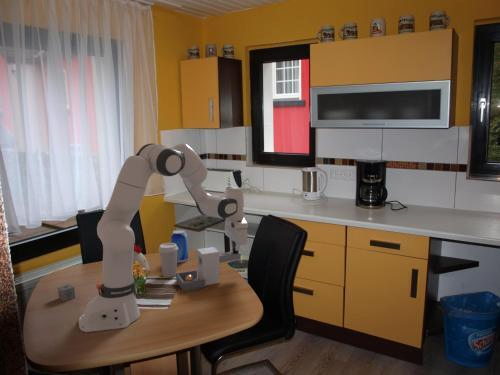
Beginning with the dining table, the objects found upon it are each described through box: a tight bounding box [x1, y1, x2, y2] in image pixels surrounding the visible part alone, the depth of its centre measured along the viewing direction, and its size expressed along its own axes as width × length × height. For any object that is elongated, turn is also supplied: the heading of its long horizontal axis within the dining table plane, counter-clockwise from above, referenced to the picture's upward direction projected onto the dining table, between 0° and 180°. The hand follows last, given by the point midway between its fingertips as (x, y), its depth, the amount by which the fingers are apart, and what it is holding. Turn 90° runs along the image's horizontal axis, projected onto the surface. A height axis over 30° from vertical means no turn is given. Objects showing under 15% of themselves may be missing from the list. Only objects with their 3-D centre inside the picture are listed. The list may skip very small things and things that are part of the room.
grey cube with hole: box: [57, 283, 76, 302], centre depth 181 cm, size 5×5×5 cm
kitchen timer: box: [133, 244, 151, 273], centre depth 207 cm, size 14×14×15 cm
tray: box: [175, 269, 206, 293], centre depth 193 cm, size 10×13×4 cm
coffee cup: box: [157, 242, 178, 278], centre depth 204 cm, size 10×10×15 cm
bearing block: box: [196, 246, 221, 286], centre depth 196 cm, size 8×8×15 cm
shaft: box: [201, 241, 242, 263], centre depth 197 cm, size 18×4×8 cm, turn 114°
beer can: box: [170, 229, 189, 264], centre depth 224 cm, size 8×8×16 cm
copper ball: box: [185, 275, 194, 282], centre depth 193 cm, size 4×4×4 cm
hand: (235, 248), depth 200 cm, fingers closed on shaft, 3 cm apart
